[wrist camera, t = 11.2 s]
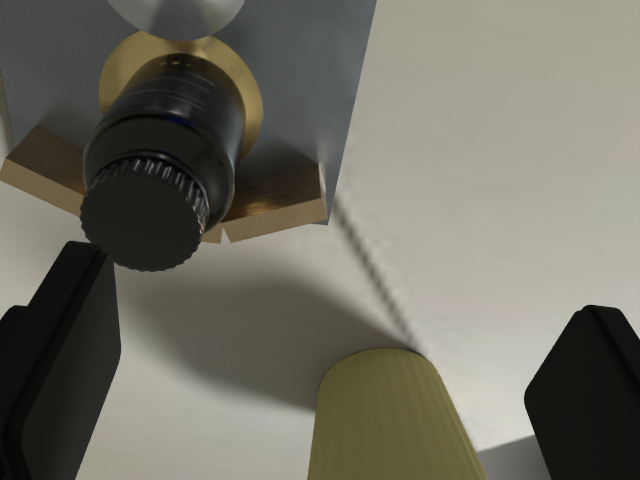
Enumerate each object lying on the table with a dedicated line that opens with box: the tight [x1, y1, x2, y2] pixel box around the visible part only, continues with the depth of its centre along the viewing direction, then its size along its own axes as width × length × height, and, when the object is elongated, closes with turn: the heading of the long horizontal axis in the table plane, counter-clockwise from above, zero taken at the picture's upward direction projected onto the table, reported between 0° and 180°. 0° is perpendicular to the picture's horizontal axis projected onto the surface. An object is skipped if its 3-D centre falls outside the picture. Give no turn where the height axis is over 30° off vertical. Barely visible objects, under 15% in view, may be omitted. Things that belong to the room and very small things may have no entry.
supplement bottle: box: [79, 53, 246, 272], centre depth 26 cm, size 7×7×12 cm
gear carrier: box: [0, 0, 377, 244], centre depth 28 cm, size 20×20×6 cm
